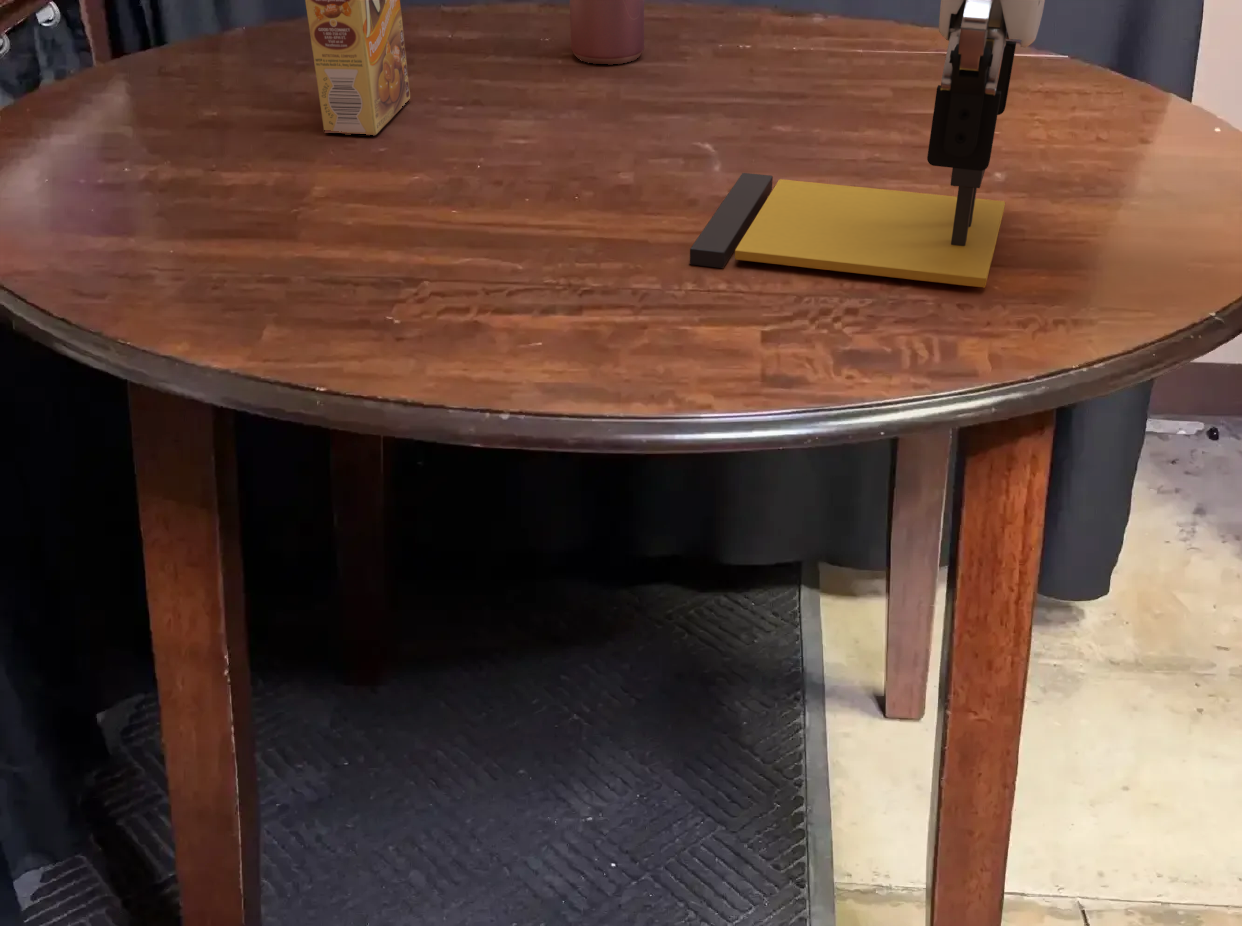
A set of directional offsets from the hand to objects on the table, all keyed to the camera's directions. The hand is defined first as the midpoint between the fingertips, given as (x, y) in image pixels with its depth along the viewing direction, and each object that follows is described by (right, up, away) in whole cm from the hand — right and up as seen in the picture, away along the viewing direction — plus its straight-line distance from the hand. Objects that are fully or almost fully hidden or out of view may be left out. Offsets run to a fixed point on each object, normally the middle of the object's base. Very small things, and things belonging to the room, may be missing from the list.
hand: (967, 137), depth 78 cm
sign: (-4, -4, +5) cm, 8 cm away
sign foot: (-12, -3, +7) cm, 15 cm away
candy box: (-38, +9, +25) cm, 46 cm away
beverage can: (-20, +18, +37) cm, 46 cm away
